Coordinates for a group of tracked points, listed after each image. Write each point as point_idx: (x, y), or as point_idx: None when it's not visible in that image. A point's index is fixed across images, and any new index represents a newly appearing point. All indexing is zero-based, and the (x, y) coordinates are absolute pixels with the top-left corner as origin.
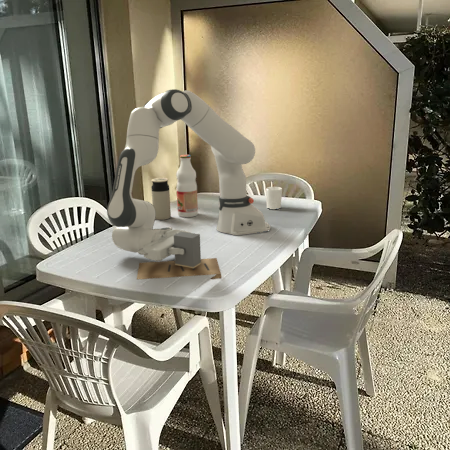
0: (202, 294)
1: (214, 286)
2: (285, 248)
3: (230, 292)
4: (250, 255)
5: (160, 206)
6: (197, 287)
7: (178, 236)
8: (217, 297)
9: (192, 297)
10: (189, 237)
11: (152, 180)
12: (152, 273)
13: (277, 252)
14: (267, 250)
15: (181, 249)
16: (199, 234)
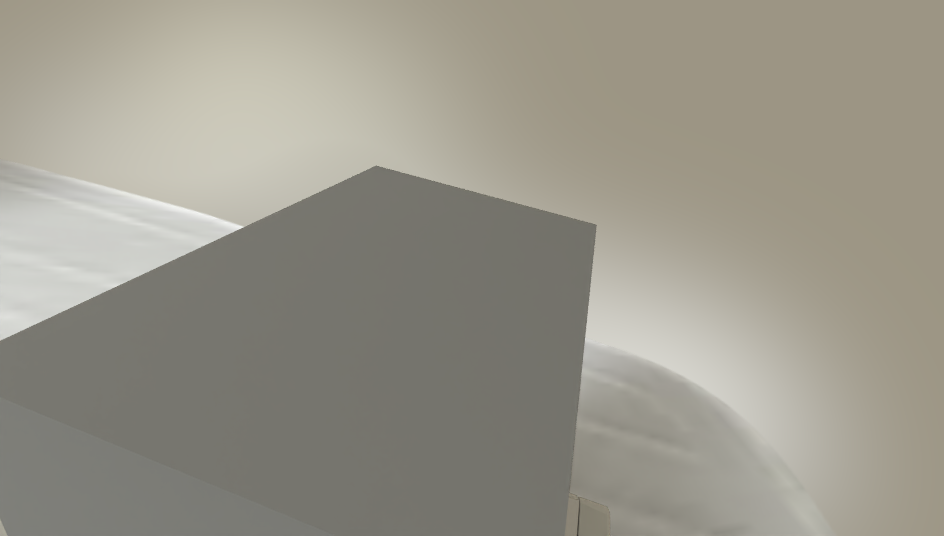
0: (748, 477)
1: (607, 424)
2: (69, 179)
3: (636, 360)
4: (89, 270)
5: None
6: (679, 524)
7: (574, 415)
8: (722, 405)
9: (833, 533)
10: (577, 243)
11: None
12: None
13: (113, 200)
14: (47, 216)
15: (607, 534)
16: (387, 169)
